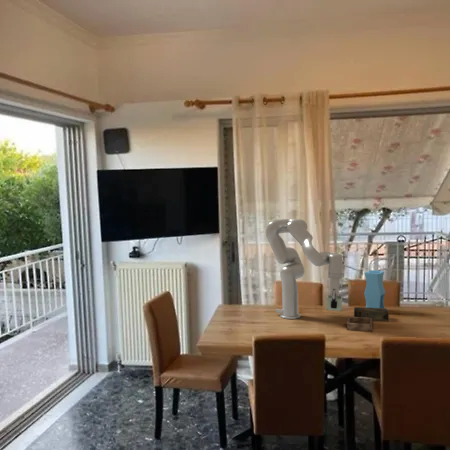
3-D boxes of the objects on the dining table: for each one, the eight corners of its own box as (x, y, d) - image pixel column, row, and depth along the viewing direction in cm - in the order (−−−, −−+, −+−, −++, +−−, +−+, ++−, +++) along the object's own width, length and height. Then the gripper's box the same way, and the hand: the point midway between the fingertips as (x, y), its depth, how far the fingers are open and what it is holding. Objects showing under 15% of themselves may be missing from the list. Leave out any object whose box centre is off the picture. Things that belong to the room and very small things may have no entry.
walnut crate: (347, 329, 247) (347, 323, 246) (348, 322, 260) (348, 316, 260) (372, 331, 243) (372, 324, 242) (372, 324, 256) (372, 318, 256)
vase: (369, 308, 290) (369, 269, 288) (385, 310, 284) (385, 271, 282) (364, 312, 282) (364, 272, 280) (380, 314, 276) (380, 273, 274)
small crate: (326, 310, 255) (326, 297, 255) (327, 307, 262) (327, 295, 261) (341, 311, 253) (341, 299, 252) (341, 308, 259) (342, 296, 258)
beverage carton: (389, 321, 260) (389, 310, 260) (354, 320, 264) (354, 309, 264) (387, 318, 268) (387, 307, 268) (353, 317, 272) (353, 306, 272)
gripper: (329, 272, 265) (329, 302, 267) (326, 277, 248) (326, 309, 250) (343, 272, 263) (342, 303, 264) (340, 278, 246) (340, 311, 248)
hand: (334, 306), depth 257 cm, fingers closed on small crate, 6 cm apart
